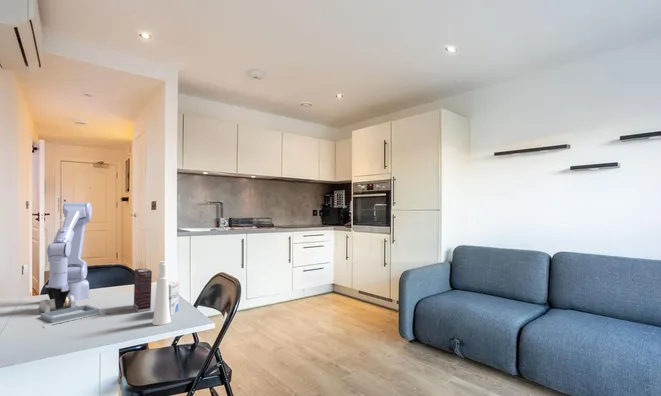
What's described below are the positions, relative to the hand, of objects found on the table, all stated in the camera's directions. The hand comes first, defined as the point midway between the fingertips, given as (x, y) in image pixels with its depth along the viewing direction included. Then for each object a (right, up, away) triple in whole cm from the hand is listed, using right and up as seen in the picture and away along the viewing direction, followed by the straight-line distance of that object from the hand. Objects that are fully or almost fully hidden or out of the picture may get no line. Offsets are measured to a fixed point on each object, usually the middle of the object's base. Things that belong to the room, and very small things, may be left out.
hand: (57, 307), depth 138 cm
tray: (+11, -1, -7) cm, 13 cm away
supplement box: (+32, -2, +4) cm, 32 cm away
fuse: (0, -1, 0) cm, 1 cm away
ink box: (+45, -2, -1) cm, 45 cm away
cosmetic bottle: (+48, -2, -13) cm, 50 cm away
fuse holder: (0, -2, 0) cm, 2 cm away
